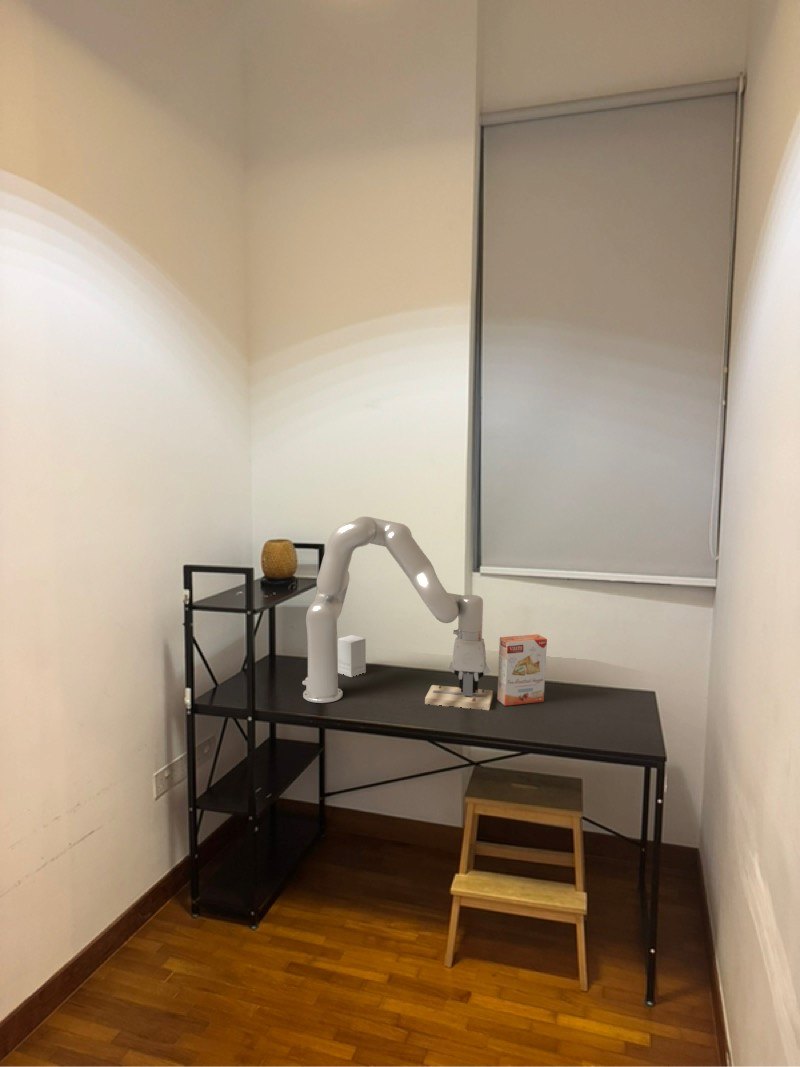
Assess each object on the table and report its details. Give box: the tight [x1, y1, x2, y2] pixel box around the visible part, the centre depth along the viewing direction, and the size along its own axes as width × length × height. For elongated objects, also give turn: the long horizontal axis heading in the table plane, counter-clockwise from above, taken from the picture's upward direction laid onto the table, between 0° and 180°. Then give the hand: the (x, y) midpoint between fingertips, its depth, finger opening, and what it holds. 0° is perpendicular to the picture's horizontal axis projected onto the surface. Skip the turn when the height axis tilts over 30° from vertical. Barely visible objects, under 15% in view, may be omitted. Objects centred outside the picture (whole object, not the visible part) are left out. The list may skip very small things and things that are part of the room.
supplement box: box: [338, 634, 367, 678], centre depth 243 cm, size 7×7×13 cm
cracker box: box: [496, 633, 548, 707], centre depth 217 cm, size 14×6×21 cm, turn 109°
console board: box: [424, 684, 494, 711], centre depth 219 cm, size 20×12×2 cm, turn 77°
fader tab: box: [463, 672, 474, 696], centre depth 218 cm, size 3×4×7 cm, turn 167°
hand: (468, 690), depth 218 cm, fingers closed on fader tab, 3 cm apart
